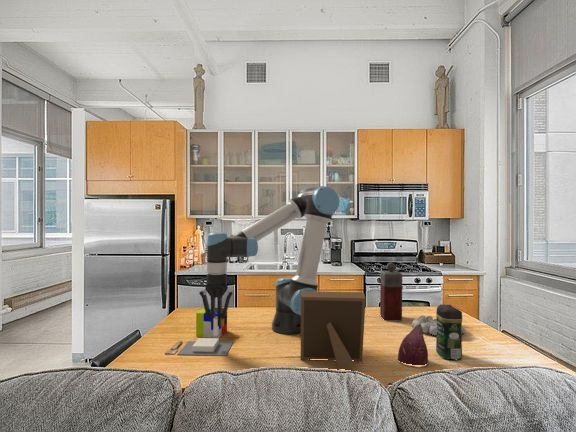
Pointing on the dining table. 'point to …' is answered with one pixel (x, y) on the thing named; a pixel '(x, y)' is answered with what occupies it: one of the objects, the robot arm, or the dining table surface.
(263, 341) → the dining table surface
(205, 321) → the puzzle toy
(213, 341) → the tile
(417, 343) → the vegetable
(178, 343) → the wooden turner
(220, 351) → the mat
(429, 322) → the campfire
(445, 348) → the coffee jar
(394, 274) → the dark red tall bottle
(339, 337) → the photo frame
